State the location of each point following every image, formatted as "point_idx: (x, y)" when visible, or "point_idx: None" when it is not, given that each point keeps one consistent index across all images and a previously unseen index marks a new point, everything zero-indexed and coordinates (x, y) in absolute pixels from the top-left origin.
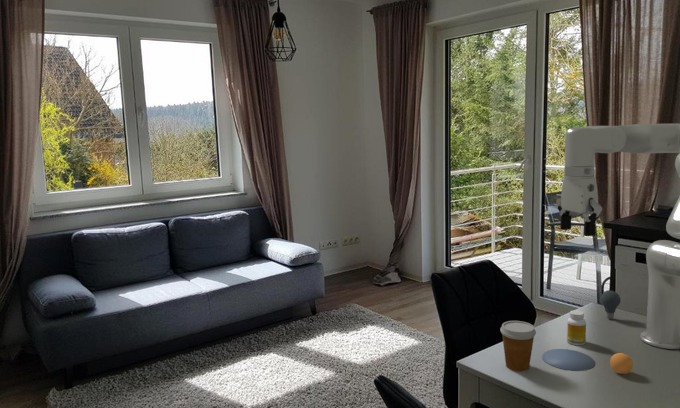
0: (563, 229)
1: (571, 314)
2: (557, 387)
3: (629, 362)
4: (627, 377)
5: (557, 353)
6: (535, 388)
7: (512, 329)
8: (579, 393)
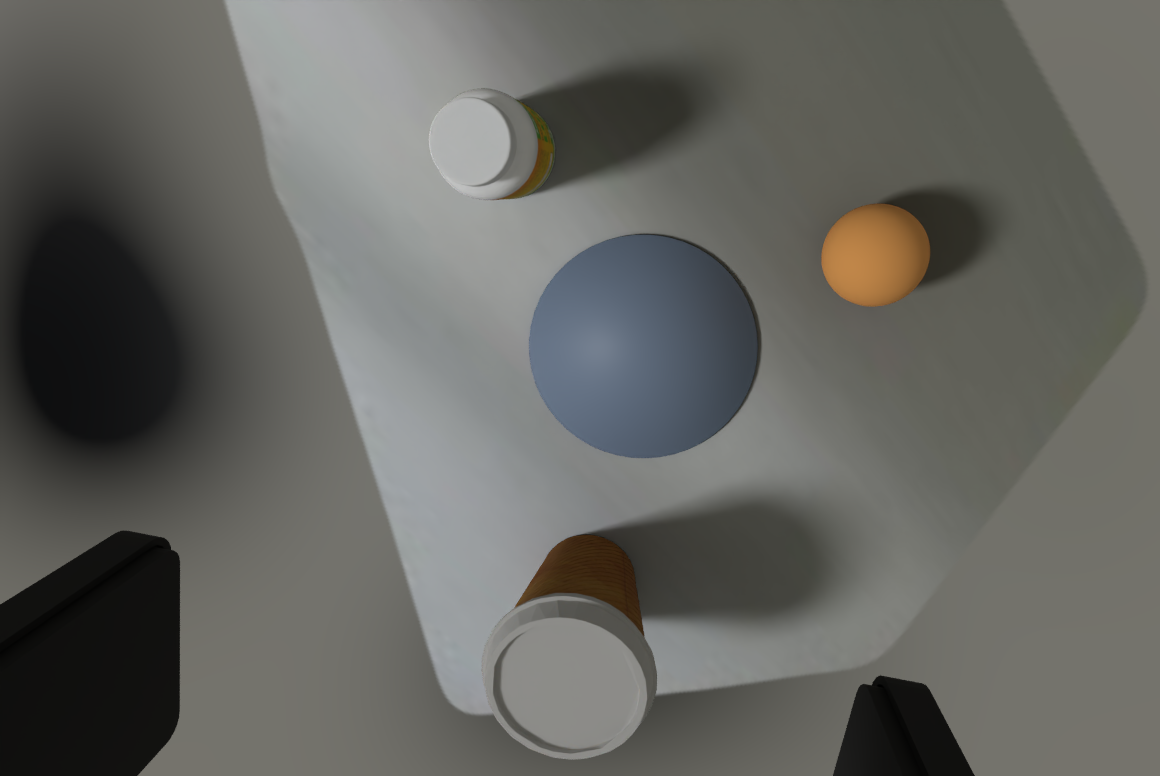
0: (178, 706)
1: (467, 184)
2: (802, 578)
3: (928, 259)
4: None
5: (574, 345)
6: (762, 648)
7: (574, 725)
8: (882, 547)
